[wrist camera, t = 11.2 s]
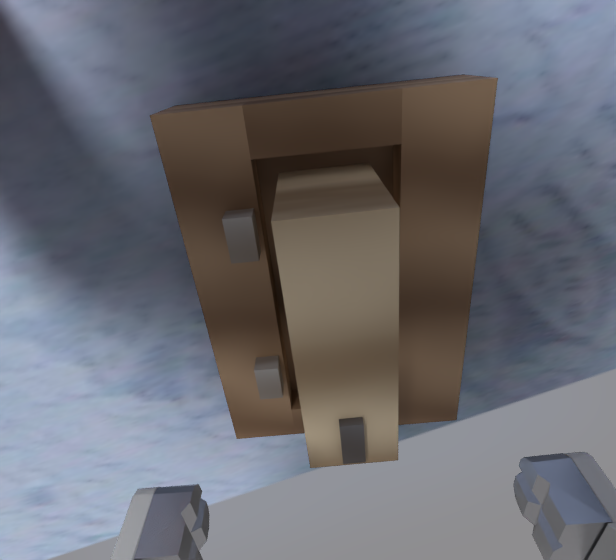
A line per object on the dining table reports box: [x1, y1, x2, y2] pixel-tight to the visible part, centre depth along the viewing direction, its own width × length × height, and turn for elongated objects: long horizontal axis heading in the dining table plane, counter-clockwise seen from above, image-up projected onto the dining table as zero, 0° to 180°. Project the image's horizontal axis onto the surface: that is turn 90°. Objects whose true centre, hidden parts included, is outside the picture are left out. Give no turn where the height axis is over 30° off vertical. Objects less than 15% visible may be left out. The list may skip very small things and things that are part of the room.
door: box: [271, 163, 400, 468], centre depth 18 cm, size 12×4×6 cm, turn 6°
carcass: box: [150, 75, 498, 439], centre depth 20 cm, size 18×13×4 cm
